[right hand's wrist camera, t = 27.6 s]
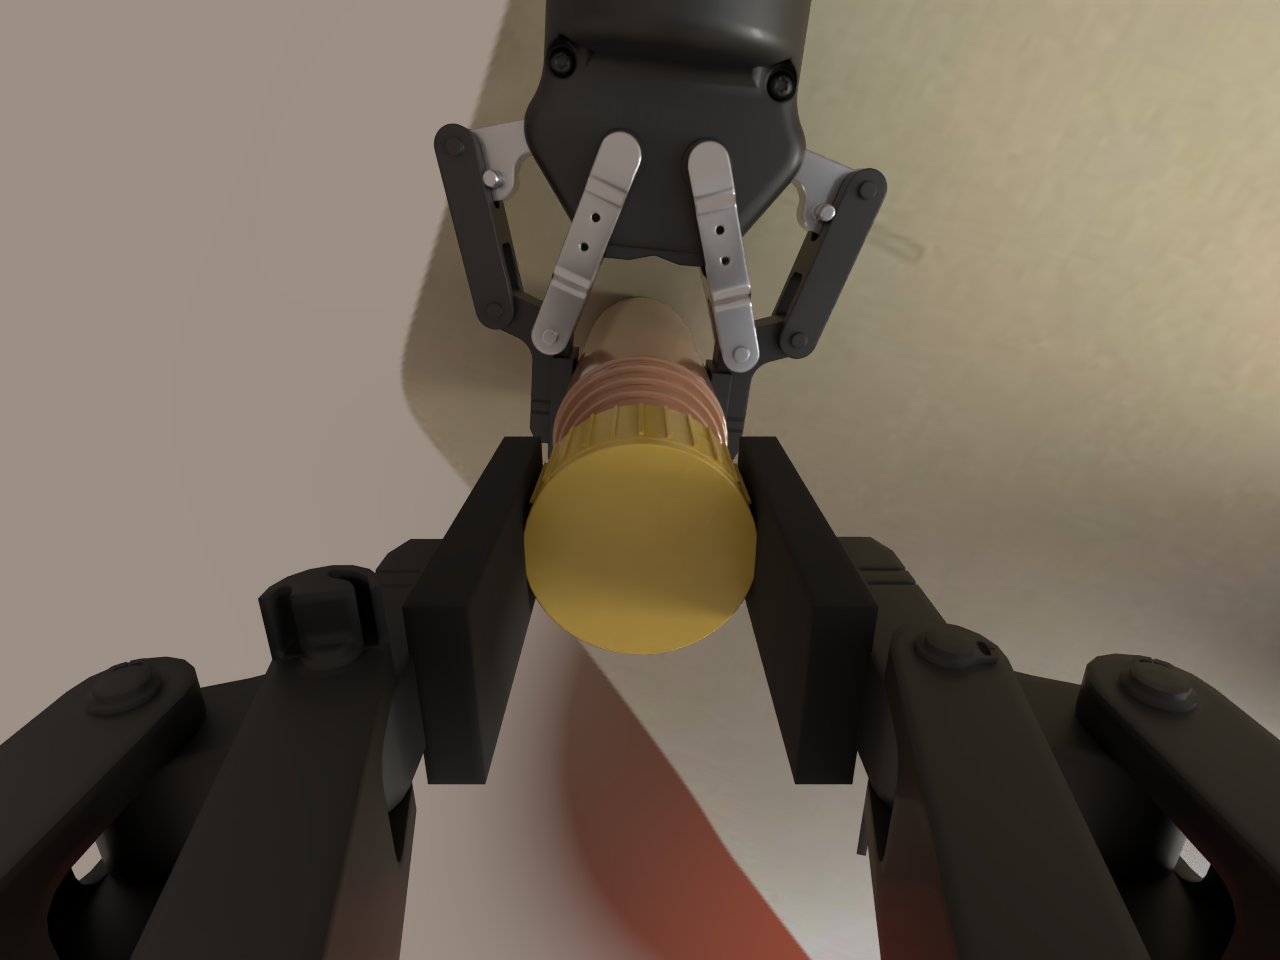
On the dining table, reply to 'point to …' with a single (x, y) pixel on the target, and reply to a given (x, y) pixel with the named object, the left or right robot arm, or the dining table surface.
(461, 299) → the dining table surface
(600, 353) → the bottle
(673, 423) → the cap
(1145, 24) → the dining table surface
